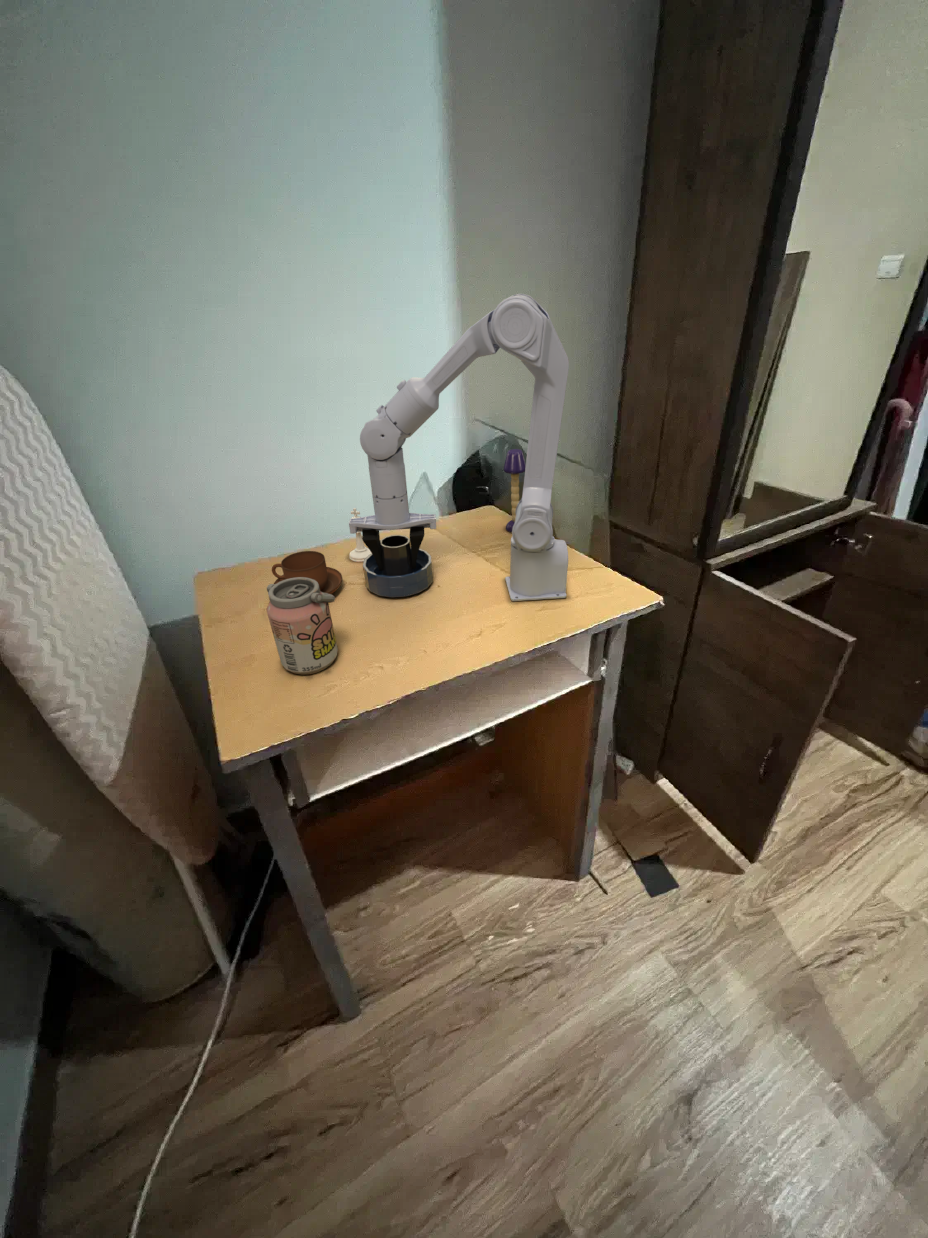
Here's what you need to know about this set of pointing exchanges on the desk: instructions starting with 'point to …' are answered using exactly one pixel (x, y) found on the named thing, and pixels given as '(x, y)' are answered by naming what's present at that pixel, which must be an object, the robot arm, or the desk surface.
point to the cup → (396, 555)
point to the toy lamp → (514, 479)
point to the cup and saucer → (309, 570)
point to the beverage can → (302, 625)
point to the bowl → (399, 577)
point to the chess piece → (359, 544)
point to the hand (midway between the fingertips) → (398, 567)
